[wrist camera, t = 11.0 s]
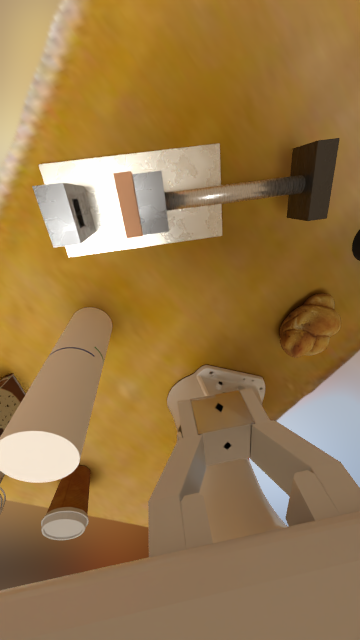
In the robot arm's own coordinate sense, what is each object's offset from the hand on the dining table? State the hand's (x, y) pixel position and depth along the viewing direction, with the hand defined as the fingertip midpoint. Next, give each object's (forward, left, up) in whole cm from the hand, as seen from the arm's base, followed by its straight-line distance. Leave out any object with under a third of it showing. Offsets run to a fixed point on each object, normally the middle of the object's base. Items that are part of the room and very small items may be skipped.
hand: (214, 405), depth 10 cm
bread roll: (-30, +11, -33) cm, 46 cm away
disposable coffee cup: (+15, +58, -33) cm, 69 cm away
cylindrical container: (+11, +15, -33) cm, 38 cm away
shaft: (-8, -9, -28) cm, 30 cm away
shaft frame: (+4, -6, -33) cm, 34 cm away
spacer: (+5, -6, -32) cm, 33 cm away
